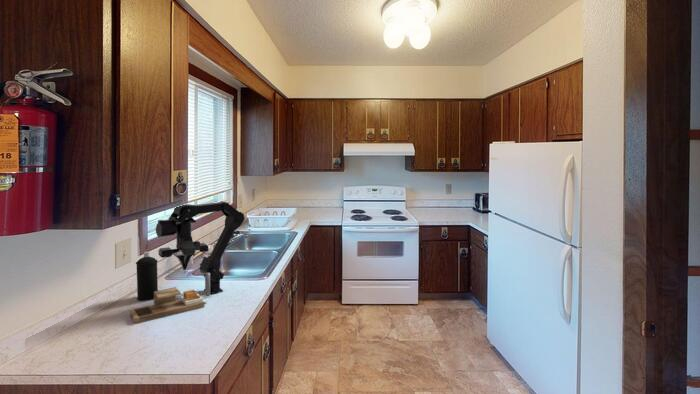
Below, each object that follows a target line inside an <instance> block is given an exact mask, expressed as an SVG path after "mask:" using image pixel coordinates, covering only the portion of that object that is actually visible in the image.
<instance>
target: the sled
mask: <svg viewBox="0 0 700 394" xmlns="http://www.w3.org/2000/svg"><path fill="white" fill-rule="evenodd" d="M204 289H205V291H204V295H200V294H199V293H198V292H197V298H198V299H194V300H190V301H186V300H185V299H184V295H183V296H180V299H181V301H182V302H183V303H184V304H185V305H189V304H194V303H198V302H202V301H203V302H204V300H207V299H211V298H212V294H210V273H205V277H204Z"/></svg>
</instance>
